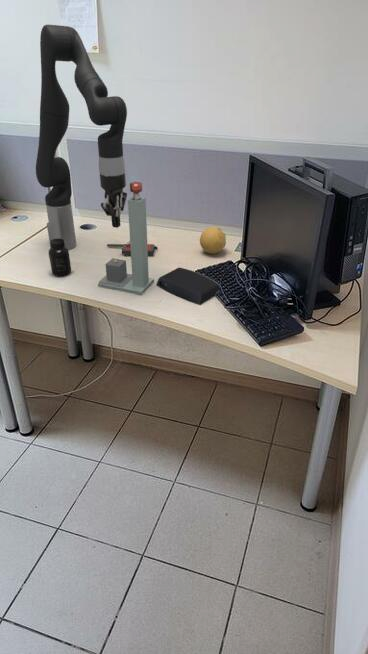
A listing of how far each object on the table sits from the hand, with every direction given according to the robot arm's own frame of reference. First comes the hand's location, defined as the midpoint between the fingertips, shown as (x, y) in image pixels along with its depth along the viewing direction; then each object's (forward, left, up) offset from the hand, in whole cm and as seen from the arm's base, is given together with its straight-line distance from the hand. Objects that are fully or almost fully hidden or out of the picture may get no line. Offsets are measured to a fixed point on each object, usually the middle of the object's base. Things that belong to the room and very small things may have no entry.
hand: (116, 226), depth 150 cm
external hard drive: (+23, +5, -21) cm, 31 cm away
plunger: (+8, 0, +7) cm, 10 cm away
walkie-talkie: (-8, +24, -21) cm, 33 cm away
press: (+1, 0, -20) cm, 20 cm away
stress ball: (+21, +35, -20) cm, 46 cm away
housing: (-1, 0, -19) cm, 19 cm away
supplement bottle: (-23, -1, -20) cm, 31 cm away
